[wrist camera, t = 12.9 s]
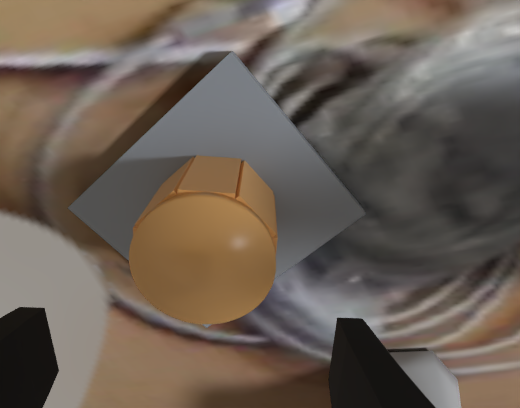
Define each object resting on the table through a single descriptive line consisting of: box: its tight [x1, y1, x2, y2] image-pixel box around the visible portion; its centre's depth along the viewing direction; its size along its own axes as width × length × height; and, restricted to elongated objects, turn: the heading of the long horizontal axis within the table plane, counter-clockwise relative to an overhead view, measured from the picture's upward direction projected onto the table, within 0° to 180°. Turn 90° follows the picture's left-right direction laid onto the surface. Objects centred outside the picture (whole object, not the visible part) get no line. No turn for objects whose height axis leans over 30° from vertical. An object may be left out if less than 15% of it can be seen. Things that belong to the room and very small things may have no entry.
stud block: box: [68, 51, 366, 328], centre depth 16 cm, size 10×9×4 cm
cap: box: [129, 155, 278, 324], centre depth 15 cm, size 5×5×5 cm
